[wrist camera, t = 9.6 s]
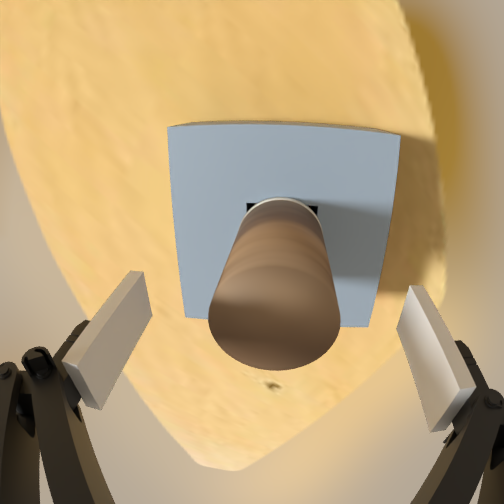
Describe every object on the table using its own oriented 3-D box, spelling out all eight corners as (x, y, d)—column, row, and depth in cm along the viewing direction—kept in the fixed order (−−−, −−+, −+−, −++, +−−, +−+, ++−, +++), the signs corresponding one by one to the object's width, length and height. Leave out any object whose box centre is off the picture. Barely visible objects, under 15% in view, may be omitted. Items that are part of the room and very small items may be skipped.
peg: (247, 179, 26) (201, 261, 13) (319, 182, 26) (352, 269, 12) (247, 245, 29) (212, 365, 16) (314, 248, 28) (330, 373, 15)
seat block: (191, 122, 26) (167, 127, 20) (377, 129, 24) (400, 135, 19) (201, 282, 32) (185, 317, 27) (356, 290, 31) (367, 327, 26)
